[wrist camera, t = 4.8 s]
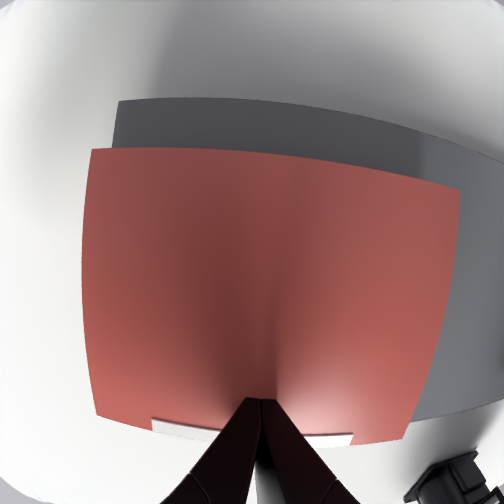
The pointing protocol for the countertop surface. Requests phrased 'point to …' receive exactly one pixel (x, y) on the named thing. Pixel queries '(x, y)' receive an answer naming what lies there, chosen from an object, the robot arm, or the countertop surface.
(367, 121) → the switch box
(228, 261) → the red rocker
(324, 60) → the countertop surface
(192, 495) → the robot arm
